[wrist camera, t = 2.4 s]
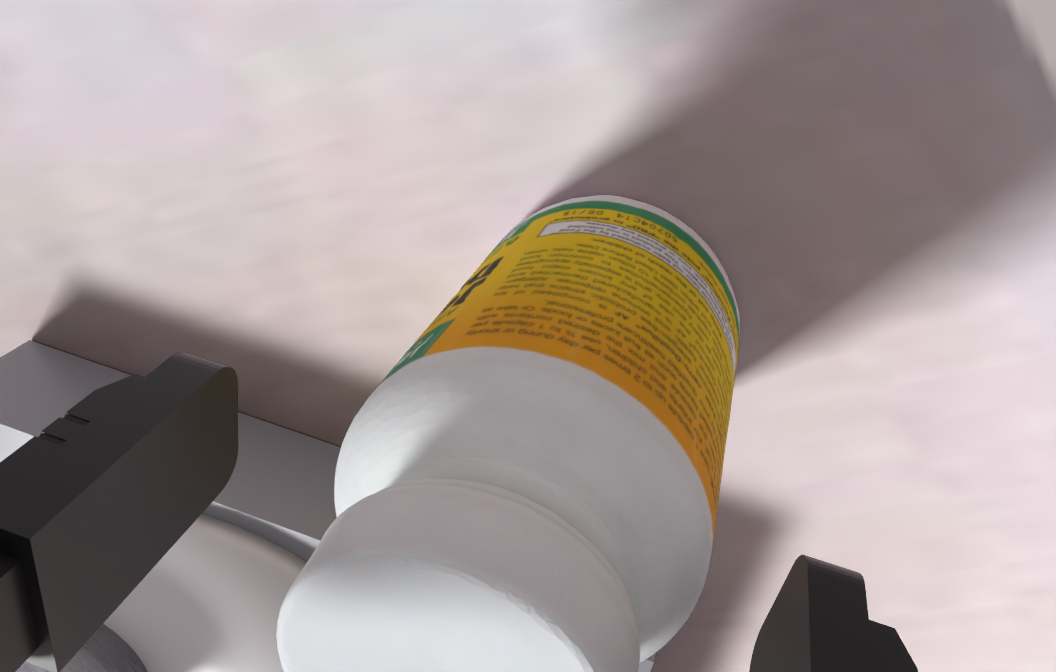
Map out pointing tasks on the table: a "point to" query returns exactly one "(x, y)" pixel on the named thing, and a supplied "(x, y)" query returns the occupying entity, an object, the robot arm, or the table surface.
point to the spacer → (99, 656)
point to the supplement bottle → (534, 462)
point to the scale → (201, 528)
